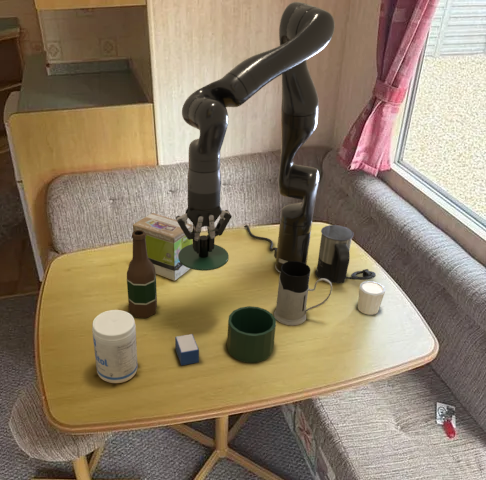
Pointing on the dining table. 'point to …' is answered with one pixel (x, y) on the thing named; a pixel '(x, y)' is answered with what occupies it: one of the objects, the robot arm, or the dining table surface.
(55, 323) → the dining table surface
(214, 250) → the lid
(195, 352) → the cream cheese
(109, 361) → the supplement tub
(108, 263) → the dining table surface
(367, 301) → the white ribbed cup
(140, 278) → the beer bottle
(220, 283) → the dining table surface
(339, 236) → the milk frother
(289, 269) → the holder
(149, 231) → the tea box
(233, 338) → the pot
